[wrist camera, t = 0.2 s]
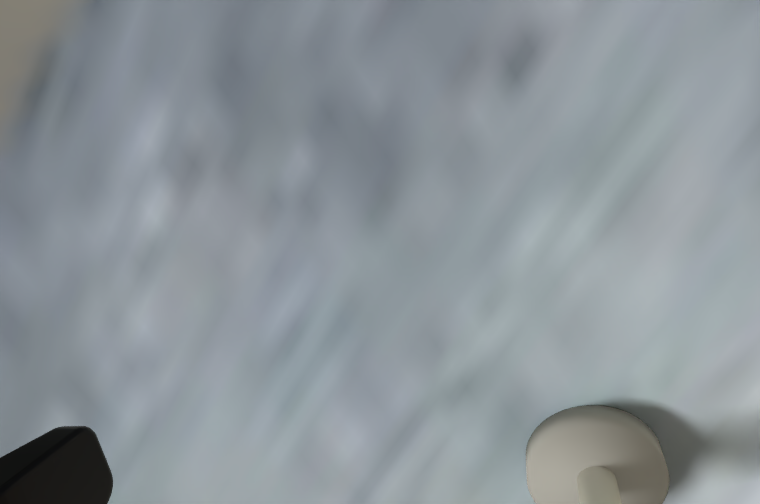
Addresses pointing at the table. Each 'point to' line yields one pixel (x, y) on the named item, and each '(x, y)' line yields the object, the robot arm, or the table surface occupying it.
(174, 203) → the table surface
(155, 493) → the table surface
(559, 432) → the cable post
